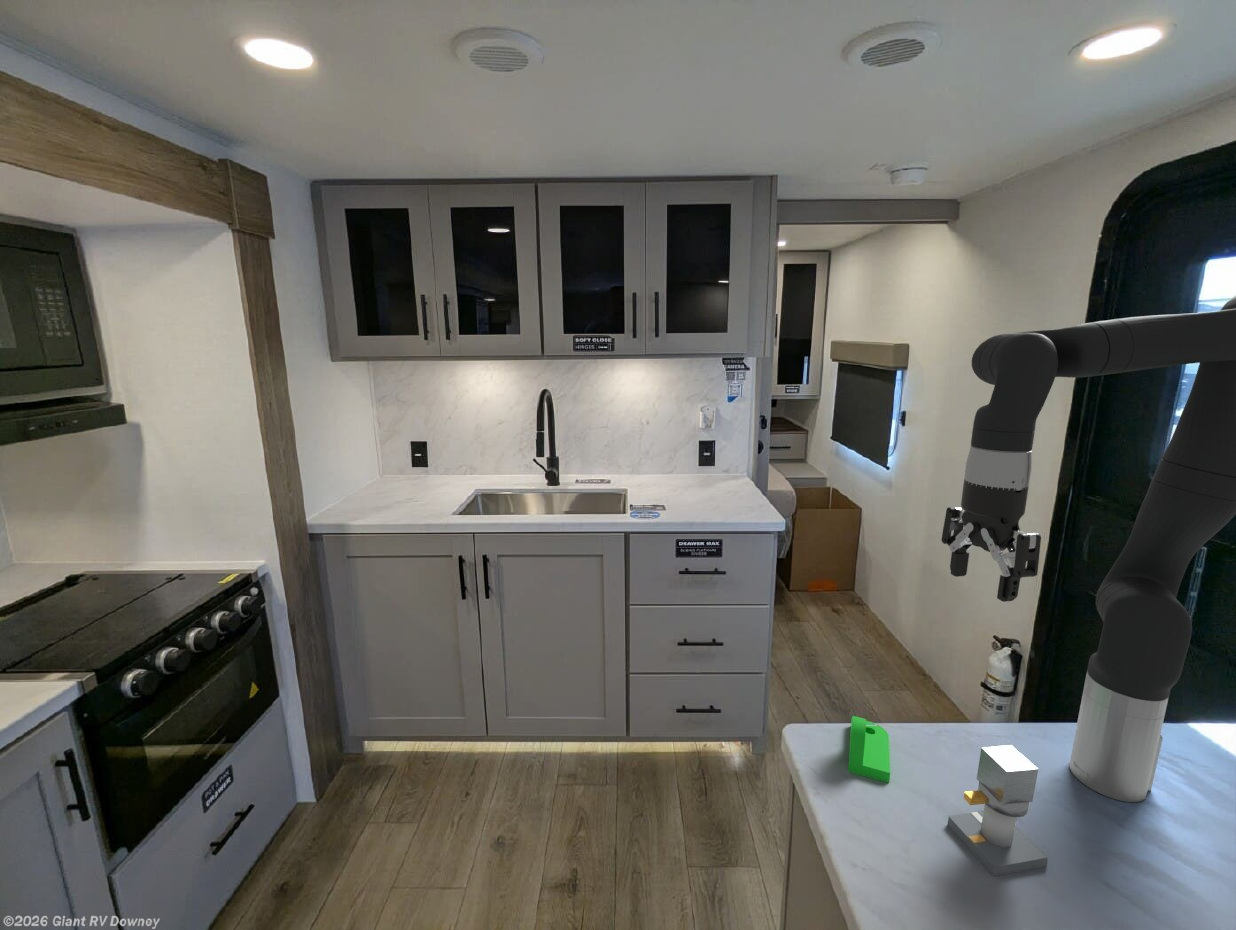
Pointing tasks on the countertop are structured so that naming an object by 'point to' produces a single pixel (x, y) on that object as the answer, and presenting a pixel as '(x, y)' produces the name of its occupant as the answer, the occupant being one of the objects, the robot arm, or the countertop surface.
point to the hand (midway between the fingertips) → (980, 587)
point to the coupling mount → (997, 841)
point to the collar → (1004, 781)
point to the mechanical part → (869, 750)
